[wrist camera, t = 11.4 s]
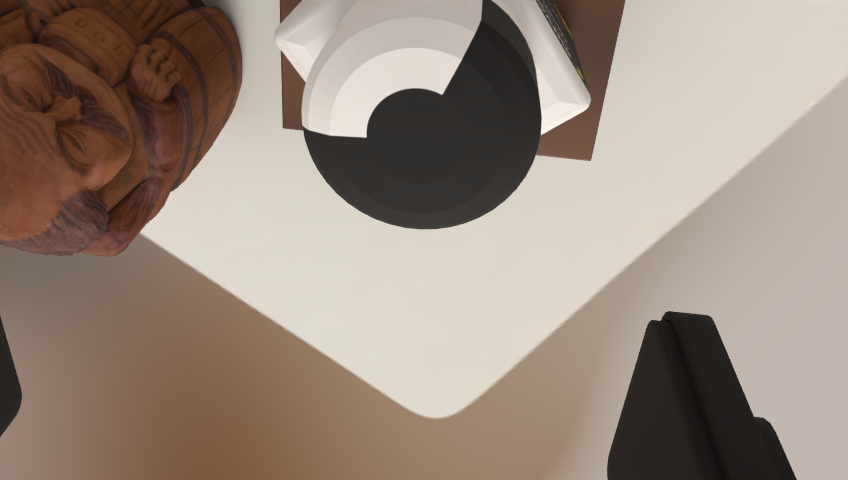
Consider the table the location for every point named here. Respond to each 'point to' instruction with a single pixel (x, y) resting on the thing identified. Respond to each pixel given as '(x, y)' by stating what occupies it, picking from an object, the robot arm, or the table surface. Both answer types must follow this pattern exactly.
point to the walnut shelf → (595, 43)
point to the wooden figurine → (105, 115)
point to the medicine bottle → (430, 100)
